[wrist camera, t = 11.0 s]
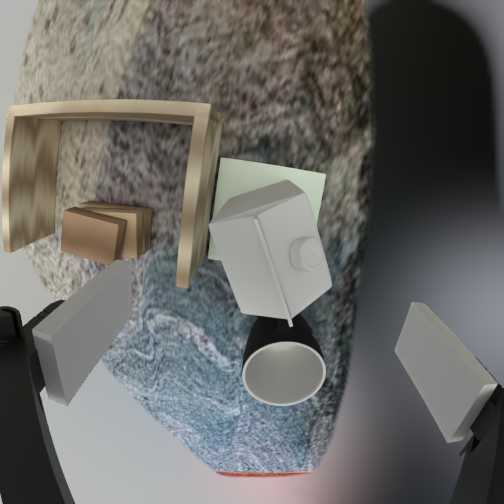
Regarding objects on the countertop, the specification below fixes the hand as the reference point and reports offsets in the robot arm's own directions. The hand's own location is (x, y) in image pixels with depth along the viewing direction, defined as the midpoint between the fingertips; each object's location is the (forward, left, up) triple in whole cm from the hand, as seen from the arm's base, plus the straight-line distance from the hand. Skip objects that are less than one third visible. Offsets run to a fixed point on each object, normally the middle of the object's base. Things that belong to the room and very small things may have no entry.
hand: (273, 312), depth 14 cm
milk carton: (0, 0, -24) cm, 24 cm away
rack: (-2, -18, -24) cm, 31 cm away
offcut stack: (+4, -18, -24) cm, 31 cm away
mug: (+13, +4, -25) cm, 28 cm away
